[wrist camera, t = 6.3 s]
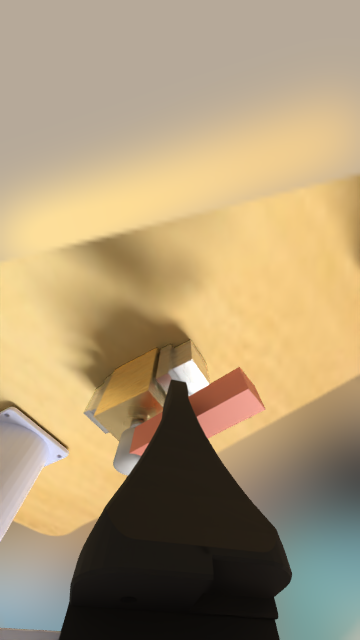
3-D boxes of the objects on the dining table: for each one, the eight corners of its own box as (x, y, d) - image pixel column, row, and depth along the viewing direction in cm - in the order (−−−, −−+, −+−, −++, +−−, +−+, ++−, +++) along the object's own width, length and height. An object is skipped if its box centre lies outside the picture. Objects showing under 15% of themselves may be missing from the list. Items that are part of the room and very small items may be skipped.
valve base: (120, 412, 20) (100, 474, 15) (90, 382, 19) (57, 439, 14) (210, 370, 18) (222, 425, 13) (185, 332, 17) (187, 378, 12)
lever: (135, 453, 14) (130, 480, 12) (114, 436, 13) (105, 462, 12) (256, 388, 11) (267, 411, 10) (237, 364, 11) (246, 385, 9)
